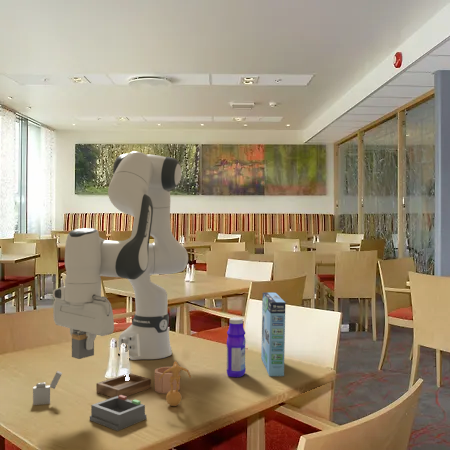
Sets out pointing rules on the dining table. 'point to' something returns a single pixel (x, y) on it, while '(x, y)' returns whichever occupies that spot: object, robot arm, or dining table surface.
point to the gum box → (273, 334)
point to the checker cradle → (118, 412)
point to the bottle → (236, 348)
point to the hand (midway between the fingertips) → (83, 347)
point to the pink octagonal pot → (164, 380)
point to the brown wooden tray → (123, 385)
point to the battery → (80, 345)
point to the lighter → (44, 390)
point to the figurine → (174, 395)
